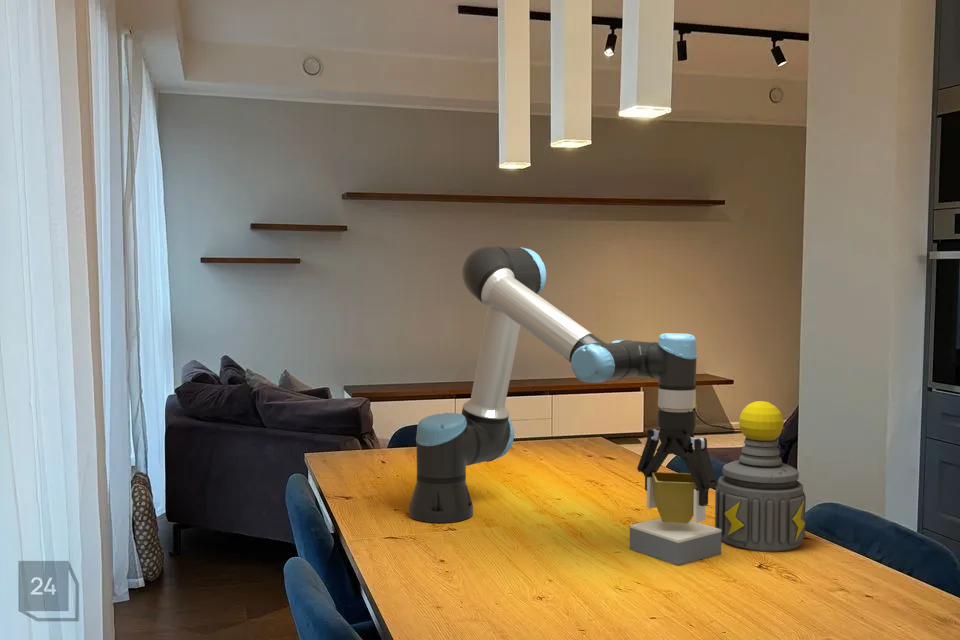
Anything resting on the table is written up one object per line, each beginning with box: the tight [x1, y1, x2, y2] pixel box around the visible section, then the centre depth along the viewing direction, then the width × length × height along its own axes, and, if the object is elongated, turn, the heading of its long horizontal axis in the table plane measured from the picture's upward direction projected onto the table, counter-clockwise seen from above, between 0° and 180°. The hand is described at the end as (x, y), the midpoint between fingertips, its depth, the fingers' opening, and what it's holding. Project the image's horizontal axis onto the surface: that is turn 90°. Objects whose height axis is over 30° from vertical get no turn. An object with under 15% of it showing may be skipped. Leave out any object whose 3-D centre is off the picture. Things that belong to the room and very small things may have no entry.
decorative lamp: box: [714, 400, 807, 553], centre depth 185 cm, size 19×19×30 cm
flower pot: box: [652, 471, 697, 524], centre depth 177 cm, size 9×9×9 cm
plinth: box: [629, 517, 722, 566], centre depth 177 cm, size 13×13×5 cm
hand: (675, 514), depth 177 cm, fingers closed on flower pot, 12 cm apart
